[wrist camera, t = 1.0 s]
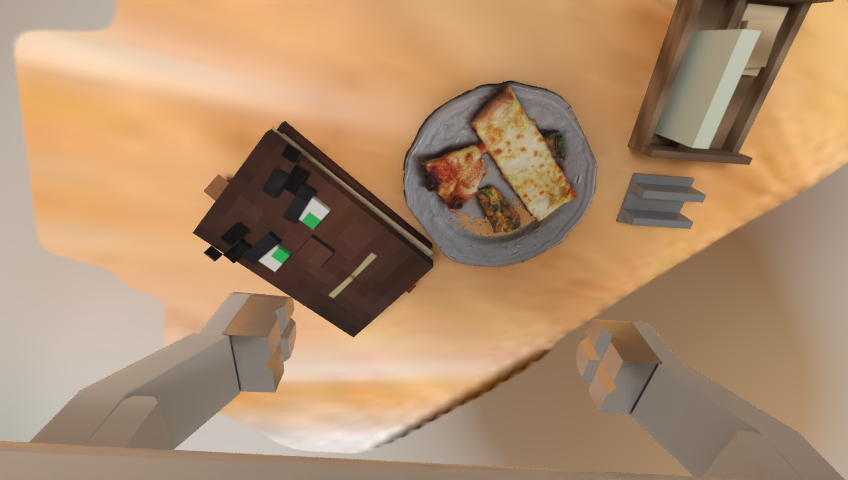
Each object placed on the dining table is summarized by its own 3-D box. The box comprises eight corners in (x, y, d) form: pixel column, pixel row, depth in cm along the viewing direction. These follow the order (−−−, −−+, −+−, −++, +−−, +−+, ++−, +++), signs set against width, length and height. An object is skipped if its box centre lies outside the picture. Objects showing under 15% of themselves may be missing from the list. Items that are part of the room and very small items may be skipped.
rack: (682, -14, 39) (717, -22, 35) (790, -3, 40) (838, -9, 35) (628, 145, 47) (650, 156, 43) (717, 152, 48) (749, 164, 43)
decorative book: (360, 354, 54) (165, 230, 44) (366, 320, 61) (198, 205, 51) (453, 275, 48) (249, 109, 38) (449, 246, 55) (274, 98, 45)
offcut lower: (739, 4, 39) (748, 3, 38) (779, 8, 39) (789, 7, 38) (711, 71, 42) (719, 72, 41) (748, 75, 42) (757, 75, 41)
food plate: (370, 151, 47) (367, 159, 44) (535, 37, 41) (545, 37, 38) (467, 281, 58) (471, 295, 55) (609, 205, 52) (622, 216, 49)
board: (693, 30, 40) (742, 28, 34) (709, 32, 40) (761, 30, 34) (655, 133, 45) (691, 147, 39) (669, 134, 45) (708, 149, 39)
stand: (633, 173, 49) (648, 182, 46) (691, 177, 49) (710, 186, 46) (616, 220, 52) (628, 232, 49) (670, 224, 53) (686, 236, 49)
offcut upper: (741, 21, 39) (748, 20, 38) (774, 18, 39) (782, 18, 38) (727, 68, 41) (733, 68, 40) (758, 66, 41) (765, 66, 40)
